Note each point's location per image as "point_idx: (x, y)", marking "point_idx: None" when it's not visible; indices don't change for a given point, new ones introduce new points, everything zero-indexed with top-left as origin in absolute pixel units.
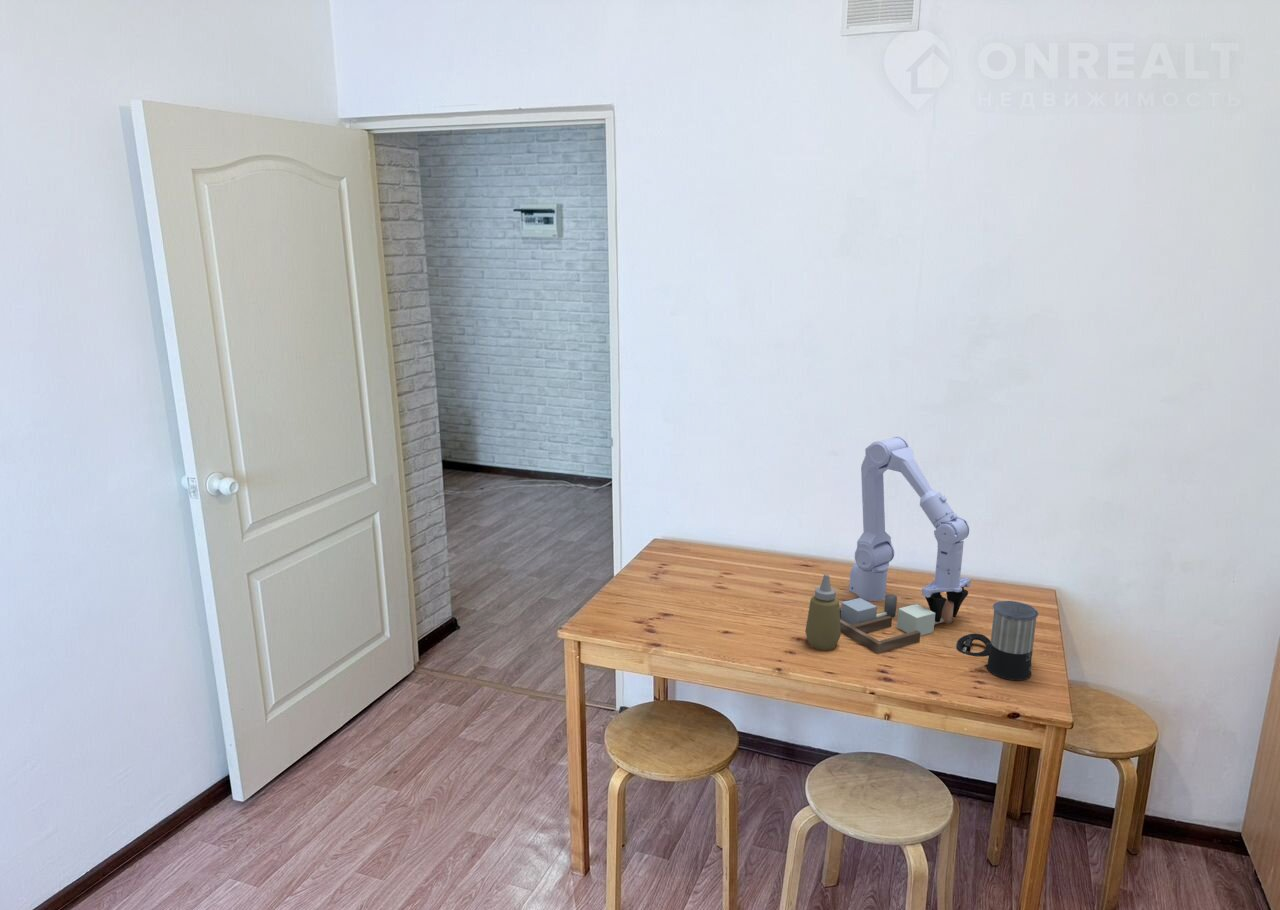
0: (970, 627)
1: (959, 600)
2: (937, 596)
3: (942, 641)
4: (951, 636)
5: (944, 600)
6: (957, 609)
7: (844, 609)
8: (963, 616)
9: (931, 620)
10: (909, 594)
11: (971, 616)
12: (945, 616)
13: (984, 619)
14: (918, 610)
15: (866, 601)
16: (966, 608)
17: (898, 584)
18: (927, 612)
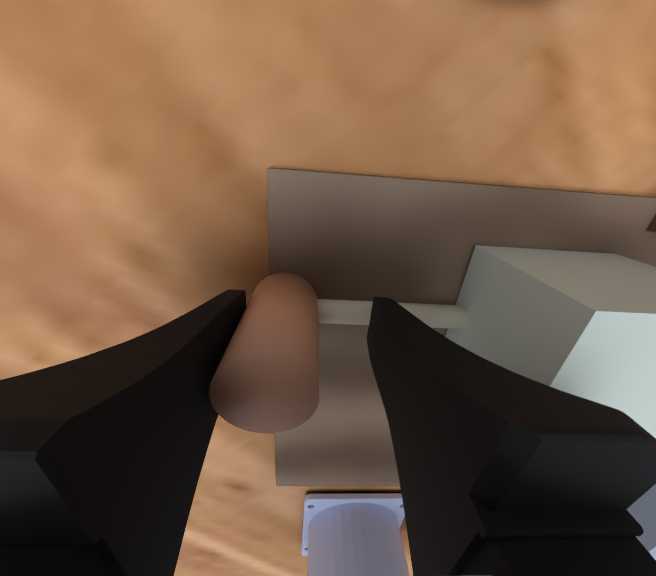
0: (178, 196)
1: (164, 364)
2: (572, 523)
3: (497, 156)
4: (389, 174)
5: (553, 416)
6: (208, 311)
7: None
8: (120, 310)
9: (573, 281)
10: (208, 499)
11: (71, 290)
12: (315, 311)
13: (6, 227)
14: (621, 403)
15: (649, 552)
16: (42, 358)
17: (189, 540)
18: (624, 351)
